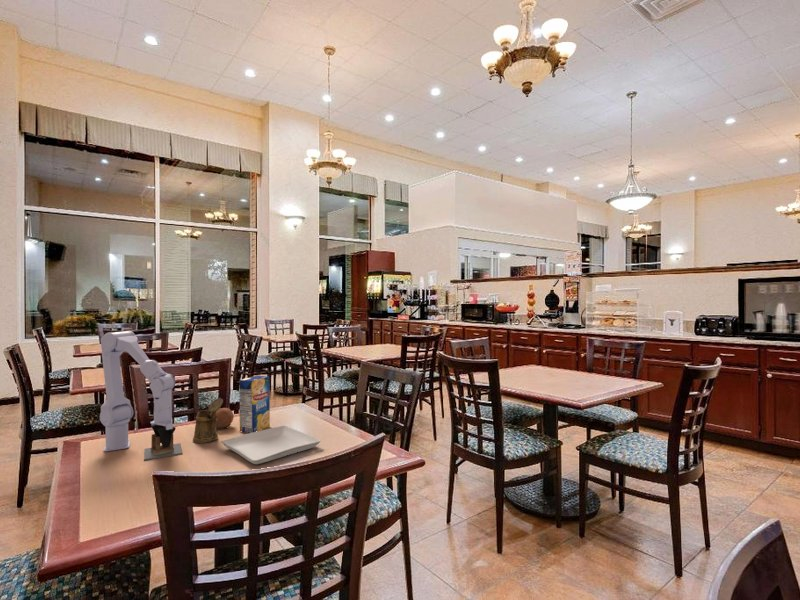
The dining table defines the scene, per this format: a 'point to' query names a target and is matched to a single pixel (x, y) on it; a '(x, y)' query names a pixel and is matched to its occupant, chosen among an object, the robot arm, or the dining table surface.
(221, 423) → the onion
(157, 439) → the stool
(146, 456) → the mat
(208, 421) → the wooden mug
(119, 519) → the dining table surface
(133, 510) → the dining table surface
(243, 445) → the square plate
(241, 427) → the blue yellow food box
